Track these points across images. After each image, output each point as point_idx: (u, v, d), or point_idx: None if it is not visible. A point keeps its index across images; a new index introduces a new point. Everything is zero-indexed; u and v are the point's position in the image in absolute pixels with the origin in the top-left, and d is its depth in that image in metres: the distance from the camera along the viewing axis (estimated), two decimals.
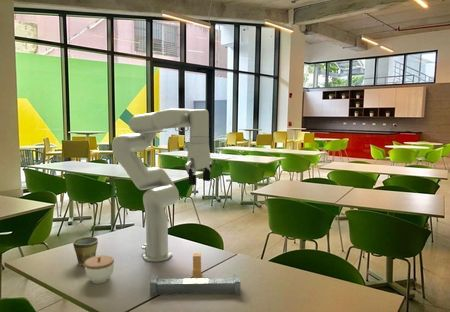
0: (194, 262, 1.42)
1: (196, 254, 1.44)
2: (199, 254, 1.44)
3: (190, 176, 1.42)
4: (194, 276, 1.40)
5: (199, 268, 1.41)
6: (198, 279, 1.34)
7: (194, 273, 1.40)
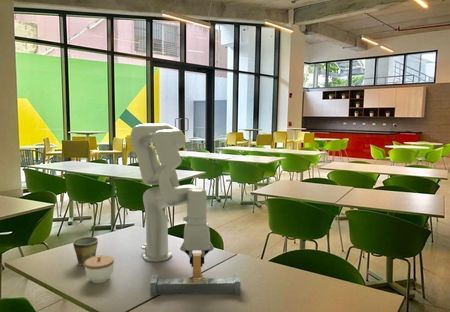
0: (194, 262, 1.42)
1: (196, 254, 1.43)
2: (199, 254, 1.43)
3: None
4: (194, 276, 1.40)
5: (199, 268, 1.41)
6: (198, 279, 1.34)
7: (194, 273, 1.40)
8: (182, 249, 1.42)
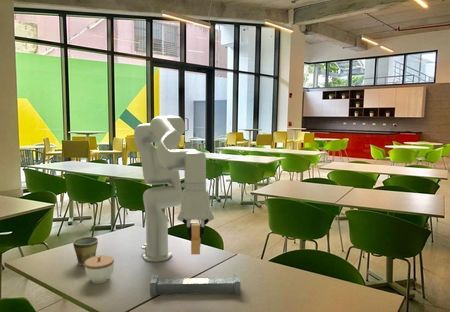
0: (193, 232, 1.29)
1: (195, 224, 1.31)
2: (198, 224, 1.31)
3: (203, 227, 1.30)
4: (193, 247, 1.27)
5: (198, 239, 1.28)
6: (198, 279, 1.34)
7: (193, 244, 1.27)
8: (179, 219, 1.29)
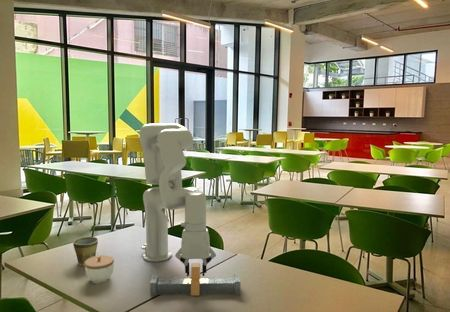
0: (192, 273, 1.31)
1: (195, 264, 1.33)
2: (198, 264, 1.33)
3: None
4: (192, 288, 1.29)
5: (198, 280, 1.30)
6: None
7: (192, 285, 1.29)
8: (177, 256, 1.31)
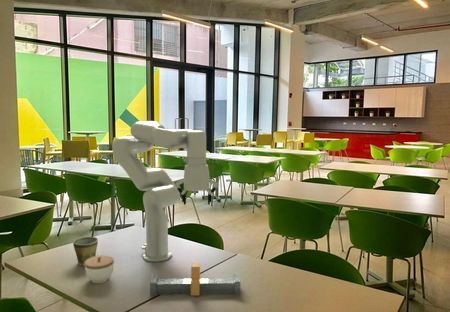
0: (192, 273, 1.31)
1: (195, 264, 1.33)
2: (198, 264, 1.33)
3: None
4: (192, 288, 1.29)
5: (198, 280, 1.30)
6: None
7: (192, 285, 1.29)
8: (176, 185, 1.45)
